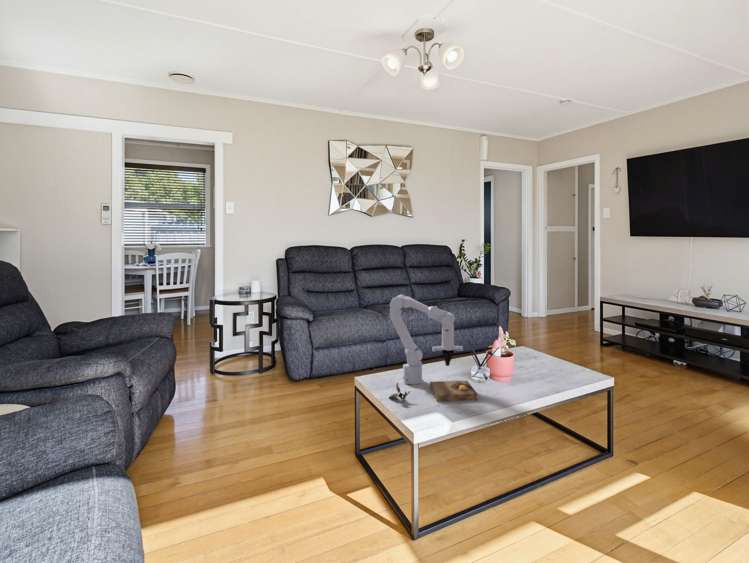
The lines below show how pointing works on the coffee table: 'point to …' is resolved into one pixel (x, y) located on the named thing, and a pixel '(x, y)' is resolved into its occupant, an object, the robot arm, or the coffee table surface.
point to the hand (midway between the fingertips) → (447, 365)
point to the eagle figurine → (399, 394)
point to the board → (452, 391)
